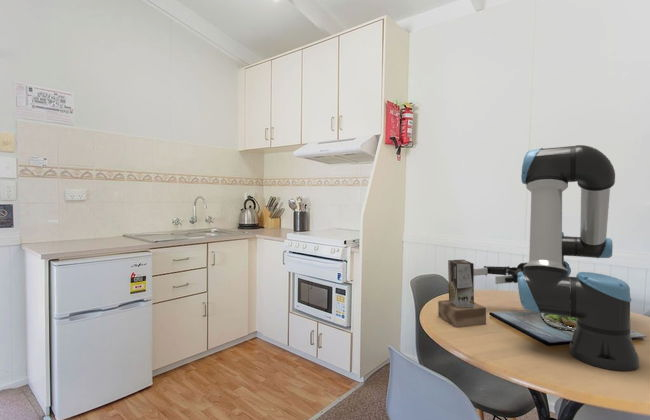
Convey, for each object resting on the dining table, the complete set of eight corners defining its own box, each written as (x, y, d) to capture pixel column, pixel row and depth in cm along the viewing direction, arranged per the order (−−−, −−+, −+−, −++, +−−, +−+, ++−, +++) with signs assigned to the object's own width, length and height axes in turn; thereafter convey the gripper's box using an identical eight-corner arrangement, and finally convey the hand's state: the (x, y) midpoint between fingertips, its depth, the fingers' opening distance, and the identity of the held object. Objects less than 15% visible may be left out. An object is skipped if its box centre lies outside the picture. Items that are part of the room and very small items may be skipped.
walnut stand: (486, 324, 124) (485, 307, 124) (456, 327, 122) (456, 310, 122) (466, 313, 136) (465, 298, 136) (438, 316, 134) (438, 300, 134)
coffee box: (474, 307, 124) (474, 263, 124) (457, 308, 124) (456, 264, 124) (464, 300, 134) (464, 259, 133) (448, 300, 134) (447, 259, 133)
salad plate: (614, 340, 109) (614, 325, 109) (548, 332, 116) (548, 319, 116) (594, 319, 127) (594, 307, 127) (538, 314, 134) (538, 302, 134)
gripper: (559, 289, 123) (507, 294, 118) (508, 274, 147) (464, 278, 143) (559, 268, 122) (507, 272, 118) (508, 257, 147) (463, 260, 143)
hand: (483, 275), depth 130 cm, fingers open, 13 cm apart
